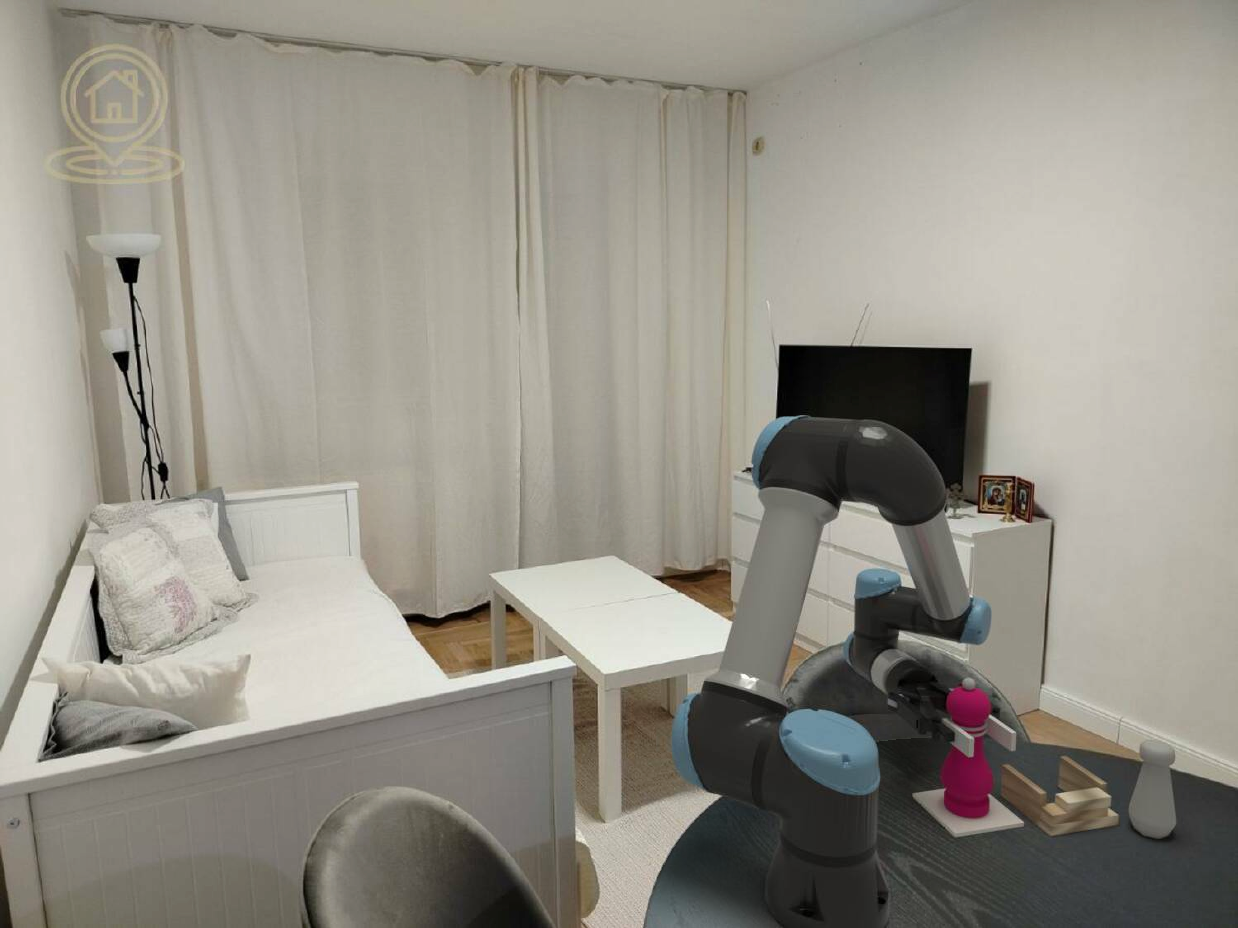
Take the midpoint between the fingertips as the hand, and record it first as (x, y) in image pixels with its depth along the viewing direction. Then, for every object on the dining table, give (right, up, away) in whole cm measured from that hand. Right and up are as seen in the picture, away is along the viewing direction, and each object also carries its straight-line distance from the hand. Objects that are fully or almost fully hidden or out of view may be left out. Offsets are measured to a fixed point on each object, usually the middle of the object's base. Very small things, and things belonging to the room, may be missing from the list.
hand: (992, 744), depth 123 cm
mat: (-1, -12, +7) cm, 14 cm away
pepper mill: (-1, -12, +7) cm, 14 cm away
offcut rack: (+13, -12, +7) cm, 19 cm away
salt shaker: (+23, -13, +1) cm, 26 cm away
